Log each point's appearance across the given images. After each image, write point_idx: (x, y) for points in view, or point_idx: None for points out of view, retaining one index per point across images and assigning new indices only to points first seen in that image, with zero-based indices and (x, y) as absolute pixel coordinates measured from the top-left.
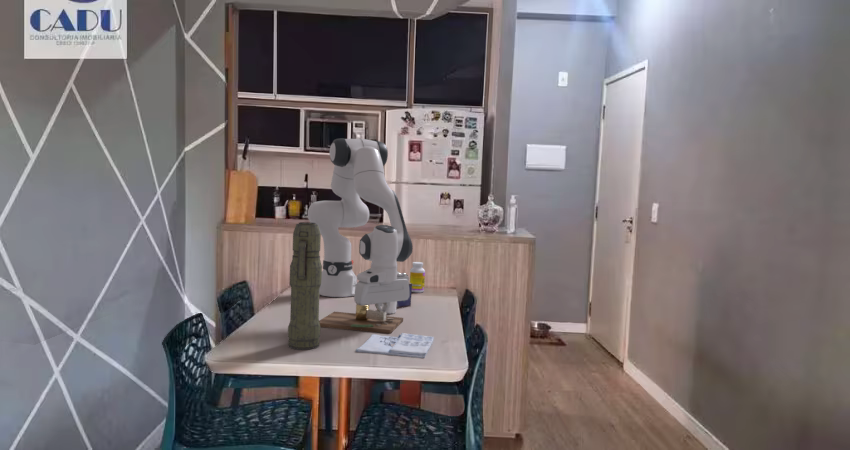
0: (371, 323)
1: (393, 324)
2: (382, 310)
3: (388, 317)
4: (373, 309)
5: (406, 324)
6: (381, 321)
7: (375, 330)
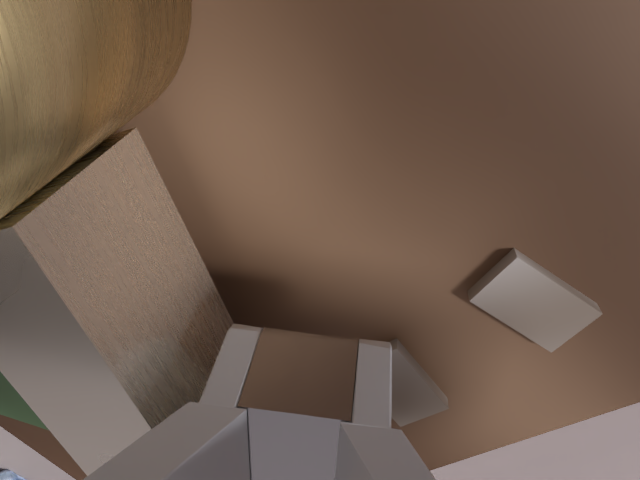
0: None
1: None
2: (294, 460)
3: (632, 181)
4: (96, 355)
5: (623, 421)
6: (297, 312)
7: None
